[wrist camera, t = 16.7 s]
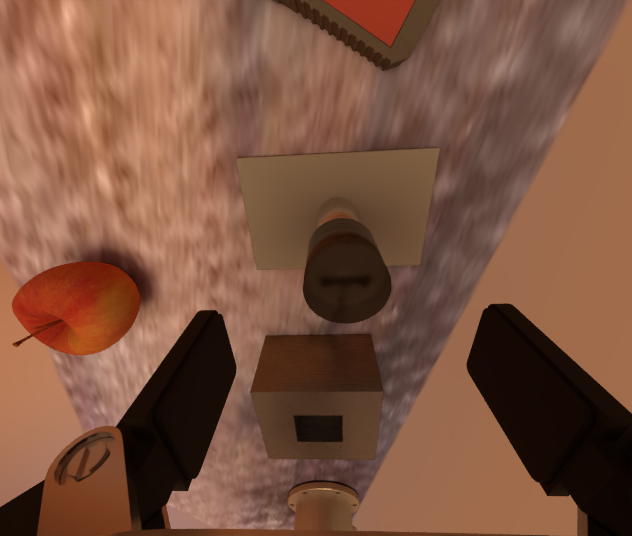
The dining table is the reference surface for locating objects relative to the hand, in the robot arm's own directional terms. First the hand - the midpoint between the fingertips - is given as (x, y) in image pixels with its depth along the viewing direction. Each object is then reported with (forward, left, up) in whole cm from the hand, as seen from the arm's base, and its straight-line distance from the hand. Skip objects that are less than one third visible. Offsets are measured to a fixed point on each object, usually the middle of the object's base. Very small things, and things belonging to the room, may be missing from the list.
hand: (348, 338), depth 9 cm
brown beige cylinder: (+1, 0, -12) cm, 12 cm away
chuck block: (-14, +11, -13) cm, 22 cm away
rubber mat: (+1, 0, -13) cm, 13 cm away
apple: (+7, +20, -13) cm, 25 cm away
